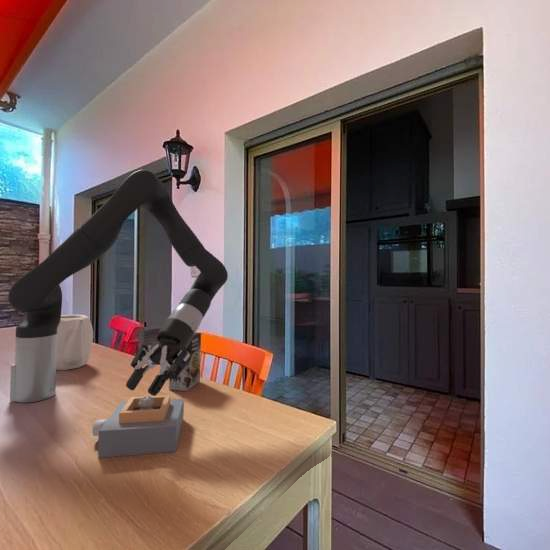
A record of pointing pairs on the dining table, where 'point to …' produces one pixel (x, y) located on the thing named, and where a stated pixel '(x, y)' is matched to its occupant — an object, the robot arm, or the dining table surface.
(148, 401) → the rook chess piece
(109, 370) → the dining table surface
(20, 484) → the dining table surface
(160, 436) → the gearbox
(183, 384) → the coffee box
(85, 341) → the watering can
